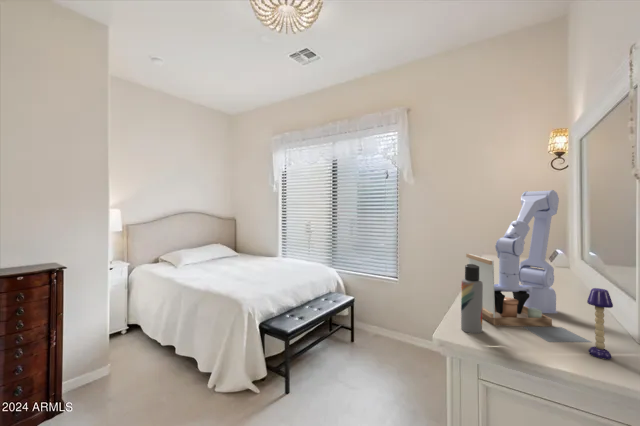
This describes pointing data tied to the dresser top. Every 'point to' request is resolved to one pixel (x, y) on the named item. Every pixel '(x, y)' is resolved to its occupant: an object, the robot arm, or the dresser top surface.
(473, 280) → the lotion bottle
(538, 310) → the pale green egg
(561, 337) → the mat
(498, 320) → the wooden tray
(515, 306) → the terracotta pot
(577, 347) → the dresser top surface
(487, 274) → the lid
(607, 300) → the toy lamp
